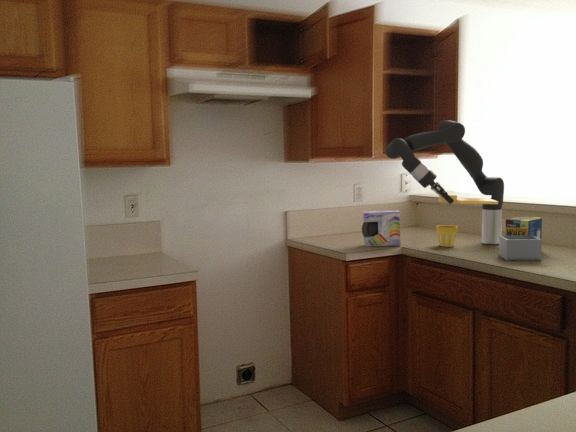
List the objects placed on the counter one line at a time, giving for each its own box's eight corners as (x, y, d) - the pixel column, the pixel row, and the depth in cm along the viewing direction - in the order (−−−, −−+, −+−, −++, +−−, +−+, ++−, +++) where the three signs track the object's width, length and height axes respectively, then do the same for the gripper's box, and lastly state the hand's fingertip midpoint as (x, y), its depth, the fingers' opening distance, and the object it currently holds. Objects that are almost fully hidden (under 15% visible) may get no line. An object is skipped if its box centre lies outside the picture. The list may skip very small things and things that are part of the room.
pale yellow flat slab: (437, 200, 248) (437, 193, 248) (490, 201, 245) (490, 194, 245) (441, 202, 234) (442, 195, 234) (498, 204, 231) (498, 197, 231)
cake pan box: (362, 246, 278) (361, 211, 276) (362, 244, 283) (361, 210, 281) (400, 246, 275) (400, 211, 273) (400, 244, 280) (400, 210, 278)
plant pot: (457, 244, 277) (457, 225, 276) (458, 247, 267) (458, 227, 266) (436, 243, 280) (436, 224, 279) (435, 247, 270) (435, 227, 269)
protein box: (504, 253, 250) (505, 219, 248) (519, 248, 260) (519, 216, 259) (527, 255, 242) (528, 220, 241) (541, 250, 253) (542, 217, 251)
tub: (498, 255, 243) (499, 235, 242) (532, 255, 242) (532, 235, 241) (506, 261, 232) (506, 239, 231) (541, 260, 230) (541, 239, 229)
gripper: (431, 168, 233) (460, 197, 233) (427, 168, 247) (454, 194, 247) (418, 181, 234) (447, 209, 234) (415, 180, 248) (442, 206, 248)
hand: (451, 201), depth 240 cm, fingers closed on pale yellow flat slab, 4 cm apart
